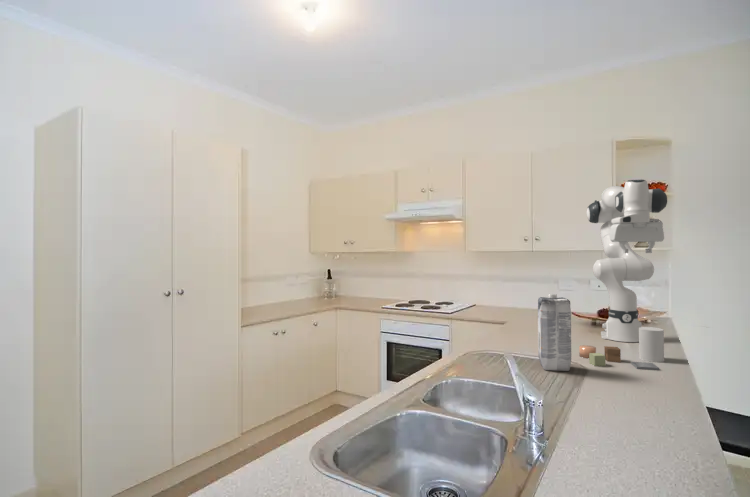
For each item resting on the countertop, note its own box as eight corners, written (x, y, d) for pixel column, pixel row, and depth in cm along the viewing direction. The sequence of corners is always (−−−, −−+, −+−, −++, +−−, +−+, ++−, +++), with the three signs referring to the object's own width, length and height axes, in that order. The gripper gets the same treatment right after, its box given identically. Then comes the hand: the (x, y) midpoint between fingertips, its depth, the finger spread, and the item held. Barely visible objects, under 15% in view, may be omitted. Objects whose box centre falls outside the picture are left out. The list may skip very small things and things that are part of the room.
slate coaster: (631, 363, 158) (631, 361, 158) (652, 365, 156) (652, 362, 156) (637, 368, 151) (637, 366, 151) (659, 370, 149) (659, 368, 149)
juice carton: (573, 372, 148) (572, 296, 148) (541, 371, 150) (540, 295, 150) (566, 365, 156) (566, 293, 156) (537, 364, 159) (536, 293, 159)
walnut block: (604, 358, 166) (604, 346, 166) (617, 359, 165) (617, 346, 165) (607, 361, 162) (607, 348, 162) (620, 362, 160) (620, 349, 160)
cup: (656, 356, 168) (656, 327, 168) (668, 362, 160) (668, 330, 160) (635, 356, 169) (634, 326, 169) (646, 362, 160) (645, 330, 160)
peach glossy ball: (578, 354, 173) (578, 344, 173) (594, 355, 171) (594, 345, 171) (581, 358, 167) (580, 348, 167) (597, 359, 165) (597, 349, 165)
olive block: (589, 363, 159) (589, 353, 159) (599, 363, 159) (599, 353, 159) (594, 366, 155) (594, 355, 155) (605, 366, 155) (605, 355, 155)
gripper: (657, 219, 173) (657, 253, 172) (607, 219, 173) (607, 253, 172) (667, 218, 166) (668, 253, 166) (616, 218, 166) (616, 253, 166)
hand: (637, 253), depth 169 cm, fingers open, 8 cm apart
